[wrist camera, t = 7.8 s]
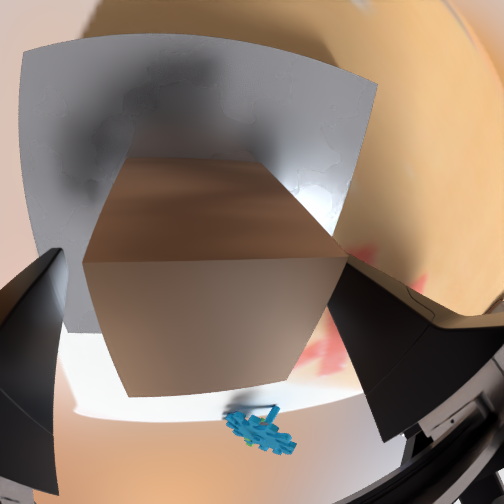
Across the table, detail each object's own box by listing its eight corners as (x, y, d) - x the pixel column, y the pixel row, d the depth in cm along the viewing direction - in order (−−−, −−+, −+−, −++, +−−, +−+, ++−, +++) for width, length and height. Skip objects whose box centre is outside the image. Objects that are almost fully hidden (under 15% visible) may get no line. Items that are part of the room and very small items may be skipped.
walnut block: (261, 163, 10) (349, 256, 5) (240, 267, 13) (286, 380, 8) (126, 157, 8) (81, 263, 4) (131, 270, 11) (128, 397, 6)
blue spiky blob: (232, 412, 26) (306, 453, 24) (258, 375, 30) (324, 415, 28) (214, 428, 33) (270, 462, 31) (235, 401, 37) (288, 432, 35)
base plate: (345, 79, 11) (377, 84, 9) (284, 293, 19) (298, 320, 17) (49, 54, 6) (23, 52, 4) (75, 301, 14) (68, 332, 12)
